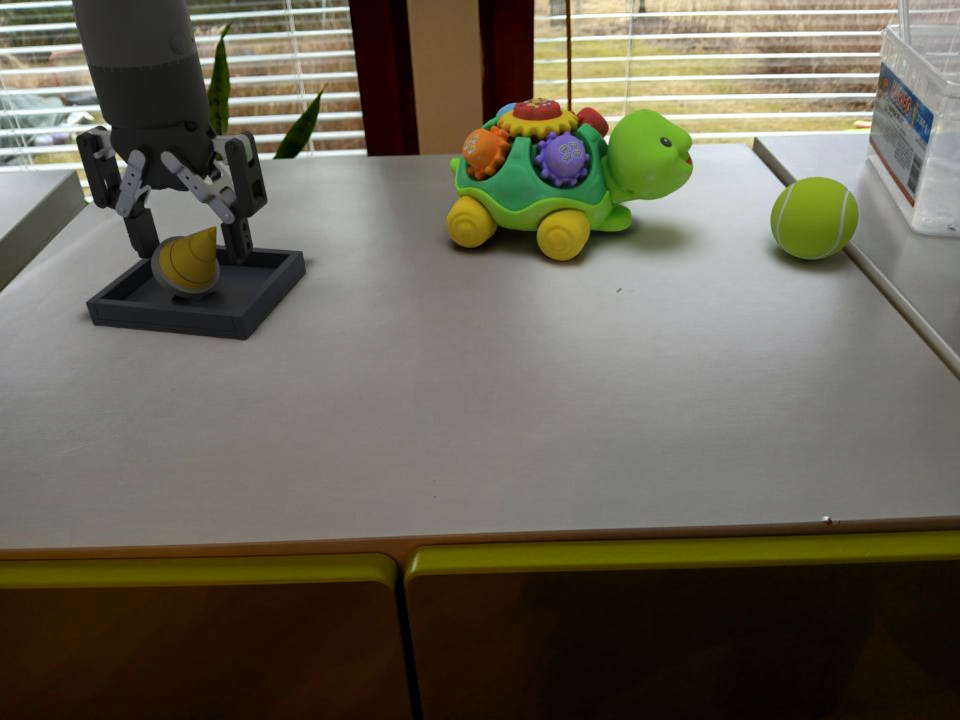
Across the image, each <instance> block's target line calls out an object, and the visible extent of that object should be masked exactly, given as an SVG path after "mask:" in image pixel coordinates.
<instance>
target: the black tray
mask: <svg viewBox="0 0 960 720" xmlns="http://www.w3.org/2000/svg"><path fill="white" fill-rule="evenodd" d="M216 258H217V260H218V263H219V267H220V275H219V279H218V281H217V283H216V284H215V285H214V287H213V288H212V289H211V290H210V291H209V292H208V293H207V294H206V295H204V296H201V297H198V298H182V297H179V296H175V297H174V298H173V299H171V295H170V292H168V291H167V290H166V289H164V288H163V287H162V286H161V285H160V284H159V283H158V281H157V280H156V278H155V276H154V274H153V272H152V268H151V260H152V257H151V258H150V259H145V258H140V260H138V261H137V262H135V263H134V264H133V265H132V266H131V267H129V268H128V269H127V270H125V271H124V272H123V273H122V274H120V275H119V276H118V277H116V278H115V279H114V280H113V281H111V282H110V283H109V284H107V285H106V286H104V288H102V289H101V290H99V291H98V292H97V293H96V294H94V295H93V296H92V297H90V298H89V299H88V300H86V301H85V305H86V308H87V311H88V314H89V316H90V319H91V322H92V325H94V326H102V327H103V326H105V327H113V328H114V327H115V328H123V329H136V330H145V331H154V332H155V331H156V332H166V333H176V334H184V335H185V334H186V335H194V336H195V335H196V336H204V337H205V336H207V337H217V338H227V339H236V340H237V339H238V340H248V338H249V337H250V336H251V335H252V334H253V333H254V332H255V331H256V329H257V328H258V327H259V326H260V325H261V324H262V323H263V321H264V320H265V319H266V318H267V317H268V316H269V315H270V314H271V313H272V311H273V310H274V309H275V308H276V307H277V305H279V303H280V302H281V301H282V300H283V299H284V298H285V297H286V295H287V294H288V293H289V292H290V291H291V290H292V289H293V288H294V287H295V286H296V284H297V283H298V282H299V281H300V280H301V279H302V277H303V276H304V275H305V274H306V273H307V270H306V263H305V257H304V252H303V250H293V249H292V250H291V249H277V248H265V247H253V250H252V252H251V253H250V254H249V257H248V258H247V259H246V260H245V261H244V262H243V263H242V264H241V265H231V264H230V263H229V260H228V256H227V251H226V247H225V244H224V245H223V244H216Z"/></svg>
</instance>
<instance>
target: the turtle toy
mask: <svg viewBox="0 0 960 720" xmlns="http://www.w3.org/2000/svg"><path fill="white" fill-rule="evenodd" d="M609 127H610V126H609V123H608V122H607V119H605V117H604V116H603V115H602V114H601V113H600V112H599V111H598V110H596V109H595V108H592V107H589V106H588V107H587V106H586V107H584V108H582V109H581V110H579V111H578V112H577V113H576V112H575V111H574V110H570V111H569V110H568V109H564V108H562V107H561V105H560V103H559V102H558V101H555V99H552V100H551V99H547V98H542V97H538V98H531V99H528V100H525V101H522V102H512V103H508V104H506V105H505V106H503V107H501V108H500V109H499V110H498V111H497V113H496V115H495V117H494V118H491V119H489V120H488V121H486V123H484V124H482V126H481V127H480V128H477V129H474V130H473V131H472V132H471V133H470V134H469V135H468V136H467V137H466V138H465V141H464V143H463V145H462V153H461V156H460V158H459V157H453V158H451V159H450V161H449V169H450V171H451V173H452V174H453V175H454V188H455V191H456V195H458V199H457V200H456V202H454V204H453V206H452V208H451V209H450V211H449V212H448V214H447V216H446V219H445V220H446V222H445V227H446V230H447V234H448V235H449V237H450V239H451V240H452V241H453V242H454V243H455V244H457V245H459V246H460V247H464V248H468V249H471V248H472V249H473V248H477V247H479V246H481V245H483V244H484V243H485V242H486V241H487V240H489V239H490V238H492V236H493V235H494V234H495V233H496V231H497V229H498V227H502V228H505V229H508V230H509V229H510V230H516V231H522V232H523V231H524V232H536V241H537V245H538V247H539V249H540V251H541V252H542V253H543V254H544V255H545V256H546V257H548V258H550V259H552V260H555V261H563V262H564V261H569V260H571V259H574V258H575V257H576V256H578V255H579V253H580V252H581V251H582V250H583V248H584V246H585V245H586V243H587V242H588V240H589V238H590V234H591V231H600V232H620V231H625V230H627V229H628V228H629V227H630V226H631V225H632V223H633V221H632V220H633V219H632V218H633V217H632V211H631V209H630V208H629V207H628V206H625V205H623V204H620V203H626V202H631V201H637V200H641V201H655V200H660V199H662V198H665V197H667V196H669V195H671V194H673V193H675V192H677V191H679V189H681V188H682V187H683V186H685V185H686V183H687V182H688V181H689V180H690V178H691V176H692V174H693V171H694V161H693V158H692V156H691V154H690V152H689V150H690V149H691V148H692V146H693V139H692V137H691V134H690V133H689V132H687V130H685V129H683V128H682V127H679V126H678V125H677V124H675V123H673V122H671V121H670V120H668V119H667V118H666V117H665V116H663V115H662V114H661V113H658V112H657V111H655V110H652V109H648V108H647V109H646V108H641V109H638V110H635V111H632V112H630V113H627V114H626V115H624V117H622V118H621V119H620V120H619V122H618V123H617V124H616V125H615V126H614V127H613V129H612V131H611V133H610V136H609V140H608V142H607V141H606V140H605V138H606V136H607V134H608V133H609V130H610V128H609Z"/></svg>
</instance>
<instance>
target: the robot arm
mask: <svg viewBox="0 0 960 720" xmlns="http://www.w3.org/2000/svg"><path fill="white" fill-rule="evenodd" d="M71 5H72V11H73V18H74V24H75V26H76V27H75V28H76V31H77V34H78V38H79V41H80V44H81V47H82V51H83V55H84V58H85V61H86V64H87V68H88V71H89V75H90V78H91V81H92V85H93V89H94V92H95V95H96V99H97V101H98V105H99V108H100V113H101V116H102V118H103V120H104V121H105V123H106V124H108V125H109V126H110V129H111V130H109V129H107V128H106V127H105V126H103V125H97V126H94V127H92V128H89V129H87V130H85V131H83V133H80V134H78V135H77V136H76V137H75V143H76V146H77V149H78V150H77V151H78V153H79V157H80V159H81V162H82V167H83V171H84V173H85V177H86V180H87V184H88V187H89V190H90V194H91V197H92V201H93V204H94V205H95V206H96V207H98V209H103V210H105V209H106V208H109V209H111V210H114V211H116V214H117V215H119V216H120V217H121V218H122V219H123V222H124V225H125V229H126V232H127V234H128V235H127V236H128V238H129V242H130V245H131V248H133V250H134V251H135V252H137V255H138V258H140V259H142V258H145V259H150V258H151V257H152V256H153V254H154V252H155V250H156V249H157V247H158V246H159V245H160V243H161V241H160V238H159V234H158V230H157V226H156V224H155V220H154V217H153V212H152V209H151V208H150V207H146V206H145V205H146V204H147V202H148V200H149V197H150V195H151V192H152V191H153V190H154V191H163V190H167V189H171V190H173V191H177V192H185V193H187V192H189V191H190V192H191V194H192V195H193V196H194V197H195V198H196V199H197V200H198V201H199V203H201V204H206V205H207V206H208V207H209V208H210V209H211V210H212V211H213V212H214V213H215V214H216V216H217V217H218V218H219V219H220V221H221V223H220V230H221V234H222V239H223V243H224V246H225V247H226V251H227V256H228V260H229V263H230V264H231V265H241V264H242V263H243V262H244V261H245V260H246V259H247V258H248V257H249V254H250V253H251V252H252V250H253V248H254V241H253V240H252V239H253V238H252V233H251V229H250V223H249V218H250V219H251V218H252V217H253V216H255V215H256V213H258V212H259V211H261V209H262V208H264V207H265V206H266V205H267V204H268V195H267V189H266V186H265V185H266V184H265V181H264V176H263V171H262V166H261V162H260V157H259V151H258V147H257V143H256V139H255V136H254V134H253V133H252V132H251V131H249V130H243V131H241V132H240V133H238V134H236V135H218V133H217V131H215V129H214V128H213V125H212V123H211V121H210V101H209V97H208V91H207V87H206V82H205V79H204V75H203V70H202V64H201V60H200V55H199V50H198V46H197V41H196V37H195V33H194V27H193V23H192V19H191V14H190V11H189V8H188V5H187V1H186V0H71ZM116 154H117V155H118V156H119V158H120V159H121V160H122V161H123V162H124V163H125V164H126V165H127V166H126V169H125V171H124V174H123V177H122V175H121V172H120V169H119V168H120V167H119V165H118V161H117V158H116ZM218 154H219V155H220V156H221V158H222V163H223V165H225V166H228V169H229V173H230V175H229V174H228V172H227V171H226V169H224V167H223V166H222V165H221V164H220V163H219V162H218V160H217V159H216V157H217V156H218ZM207 178H209V179H210V180H211V184H208V183H207V182H205V180H206V179H207Z"/></svg>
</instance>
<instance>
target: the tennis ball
mask: <svg viewBox="0 0 960 720" xmlns="http://www.w3.org/2000/svg"><path fill="white" fill-rule="evenodd" d="M858 222H859V207H858V203H857V200H856V199H855V196H854V194H853V193H852V191H850V190H849V188H848V187H847V186H845V184H843V183H841V182H839V181H838V180H835V179H832V178H829V177H824V176H811V177H810V176H809V177H805V178H801V179H798V180H796V181H795V182H793V183H791V184H789V185H788V186H787V187H786V188H785V189H784V190H782V192H781V193H780V194H779V195H778V196H777V198H776V200H775V201H774V204H773V205H772V209H771V213H770V230H771V234H772V236H773V238H774V241H775V242H776V243H777V245H778V246H779V247H780V248H781V249H782V250H783V251H784V252H785V253H787V254H788V255H790V256H793V257H795V258H798V259H802V260H808V261H809V260H810V261H811V260H812V261H813V260H821V259H825V258H829V257H831V256H832V255H834V254H836V253H838V252H840V251H841V250H842V249H844V247H846V246H847V244H848V243H850V241H851V240H852V238H853V237H854V235H855V233H856V230H857V227H858V224H859V223H858Z"/></svg>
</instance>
